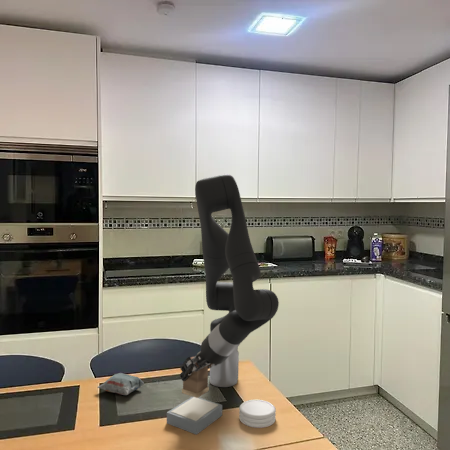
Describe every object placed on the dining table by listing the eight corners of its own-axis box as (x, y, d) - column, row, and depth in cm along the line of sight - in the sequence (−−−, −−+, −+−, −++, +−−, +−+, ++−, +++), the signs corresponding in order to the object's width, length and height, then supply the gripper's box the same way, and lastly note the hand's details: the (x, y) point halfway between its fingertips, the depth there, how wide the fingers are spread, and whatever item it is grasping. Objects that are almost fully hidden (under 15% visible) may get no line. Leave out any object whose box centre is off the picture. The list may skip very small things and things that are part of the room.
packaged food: (127, 401, 127) (127, 385, 127) (97, 393, 132) (97, 377, 132) (145, 390, 135) (145, 375, 134) (115, 383, 140) (115, 368, 139)
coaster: (245, 431, 111) (245, 417, 111) (234, 412, 121) (235, 400, 121) (281, 426, 114) (281, 413, 113) (268, 409, 123) (268, 397, 123)
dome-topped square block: (193, 386, 119) (193, 354, 119) (208, 391, 117) (208, 358, 116) (181, 393, 115) (182, 359, 115) (197, 398, 112) (197, 363, 112)
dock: (193, 405, 124) (193, 395, 124) (222, 415, 119) (222, 404, 119) (166, 423, 114) (166, 411, 114) (196, 434, 109) (196, 422, 109)
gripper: (233, 324, 115) (204, 356, 124) (193, 335, 105) (164, 369, 114) (248, 348, 111) (216, 379, 120) (207, 362, 101) (176, 395, 110)
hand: (191, 374), depth 117 cm, fingers closed on dome-topped square block, 5 cm apart
